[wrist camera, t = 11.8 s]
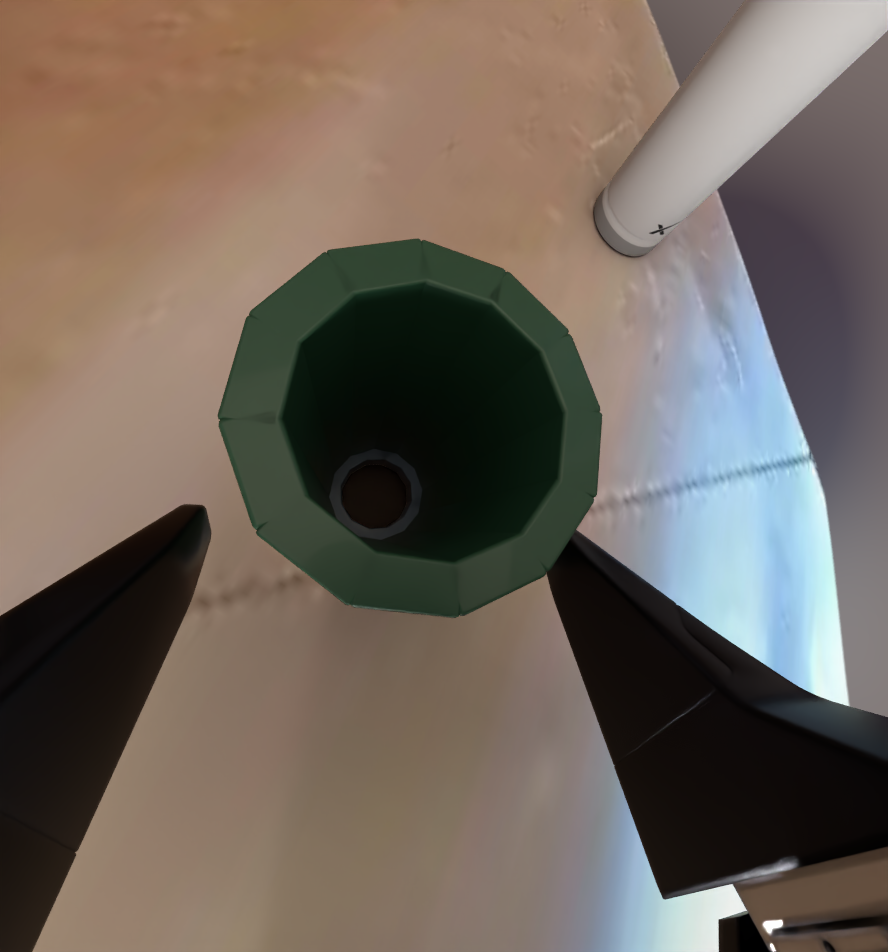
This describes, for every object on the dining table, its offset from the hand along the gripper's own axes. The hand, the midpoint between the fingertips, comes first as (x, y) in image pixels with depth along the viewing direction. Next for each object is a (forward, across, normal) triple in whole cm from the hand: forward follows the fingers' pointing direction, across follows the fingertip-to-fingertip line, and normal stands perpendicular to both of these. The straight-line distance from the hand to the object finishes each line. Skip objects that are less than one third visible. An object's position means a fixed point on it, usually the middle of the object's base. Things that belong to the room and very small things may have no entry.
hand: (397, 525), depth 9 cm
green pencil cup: (+7, 0, +5) cm, 8 cm away
